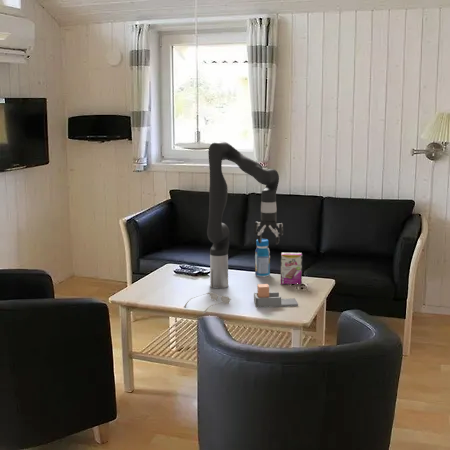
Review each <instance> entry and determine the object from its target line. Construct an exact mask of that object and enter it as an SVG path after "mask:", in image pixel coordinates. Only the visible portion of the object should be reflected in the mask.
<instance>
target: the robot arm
mask: <svg viewBox="0 0 450 450" xmlns="http://www.w3.org/2000/svg"><path fill="white" fill-rule="evenodd" d="M223 161H230V162H232V163H234V164H236V165H237V166H238V168H239V169H240V170H241V171H242V172H244V173H246V174H247V175H249V176H250V177H252V178H254V180H256V181H257V182H258V184H261V185H265V188H264V189H262V191H261V199H260V200H261V202H260V221H255V222H254V225H253V226H254V227H253V234H254V235H257V239H258V242H259V243H261V242H262V239H263V237H262V234H263V233H264V232H270V233H273V234H274V236H275V245H278V244H279V243H280V237H282V236H284V223H283V222H281V223H277V211H278V210H277V191H278V187H279V186H278V185H279V182H280V176H279V172H278V171H277V170H276V169H273V168H269V169H263V165H261V164H260V163H259V162H257V161H255V160H253V159H251V158H249V157H248V156H246V155H244V154H243V153H241V152H240V151H239V150H237V148H235V147H233V146H232V145H231V144H230V143H228V142H226V141H216V142H212V143H211V144H210V145H209V147H208V164H209V165H208V166H209V191H208V192H209V193H208V195H209V196H208V198H209V199H208V200H209V206H208V220H207V230H206V235H207V238H208V240H209V241H210V242H211V243H212V245H211V247H210V250H209V260H210V261H209V264H210V265H209V266H210V267H209V270H210V271H209V276H210V279H209V281H210V282H209V283H210V288H212V289H213V288H214V289H224V288H228V287H229V256H228V255H229V249H230V229H229V227H228V225H227V224H226V223H224V222H222V221H223V214H224V211H225V208H226V206H227V201H228V191H229V190H228V184H227V181H226V179H225V176H224V175H223V168H222V165H223ZM259 227H261V228H260V229H259ZM277 228H278V229H279V230H278V229H277Z"/></svg>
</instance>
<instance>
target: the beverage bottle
mask: <svg viewBox="0 0 450 450" xmlns="http://www.w3.org/2000/svg"><path fill="white" fill-rule="evenodd" d="M255 242H256V249H255V251H254V253H255V255H254V259H255V261H254V262H255V263H254V267H255V268H254V270H255V271H254V272H255V276H256V277H259V278H266V277H267V278H268V277H269V276H270V275H271V266H270V265H271V264H270V263H271V260H270V259H271V255H270V254H271V251H270V248H269V239H268V238H262V242H261V243H259V242H258V238H257V239H256V241H255Z"/></svg>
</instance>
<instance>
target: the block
mask: <svg viewBox="0 0 450 450" xmlns="http://www.w3.org/2000/svg"><path fill="white" fill-rule="evenodd" d="M256 287H257V291H256V293H258V298H262V297H269V292H270V285H269V284H268V283H258V284H257V286H256Z"/></svg>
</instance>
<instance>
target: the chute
mask: <svg viewBox="0 0 450 450" xmlns="http://www.w3.org/2000/svg"><path fill="white" fill-rule="evenodd" d="M253 303H254V305H255V308H257V309H259V308H279V307H281V308H283V307H299V303H298V301H297V300H296V298H295V297H294V298H289V297H288V298H282V296H280V292H279V291H269V297H262V298H258V292H254V293H253Z"/></svg>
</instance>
